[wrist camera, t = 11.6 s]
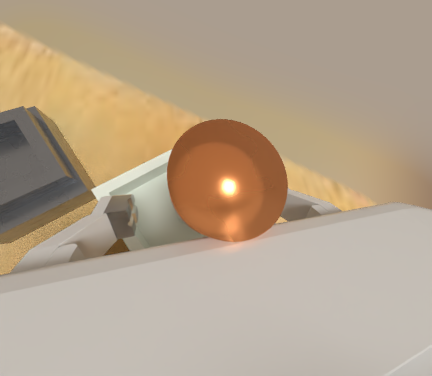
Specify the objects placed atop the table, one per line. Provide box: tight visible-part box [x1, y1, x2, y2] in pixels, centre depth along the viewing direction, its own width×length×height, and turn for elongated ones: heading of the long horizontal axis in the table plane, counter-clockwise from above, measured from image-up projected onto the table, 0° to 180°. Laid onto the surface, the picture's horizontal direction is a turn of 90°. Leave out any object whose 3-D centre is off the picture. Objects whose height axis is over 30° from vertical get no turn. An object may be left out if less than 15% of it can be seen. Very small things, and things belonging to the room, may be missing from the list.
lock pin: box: [167, 119, 288, 242], centre depth 11 cm, size 4×4×13 cm
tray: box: [91, 150, 276, 251], centre depth 17 cm, size 13×13×4 cm
